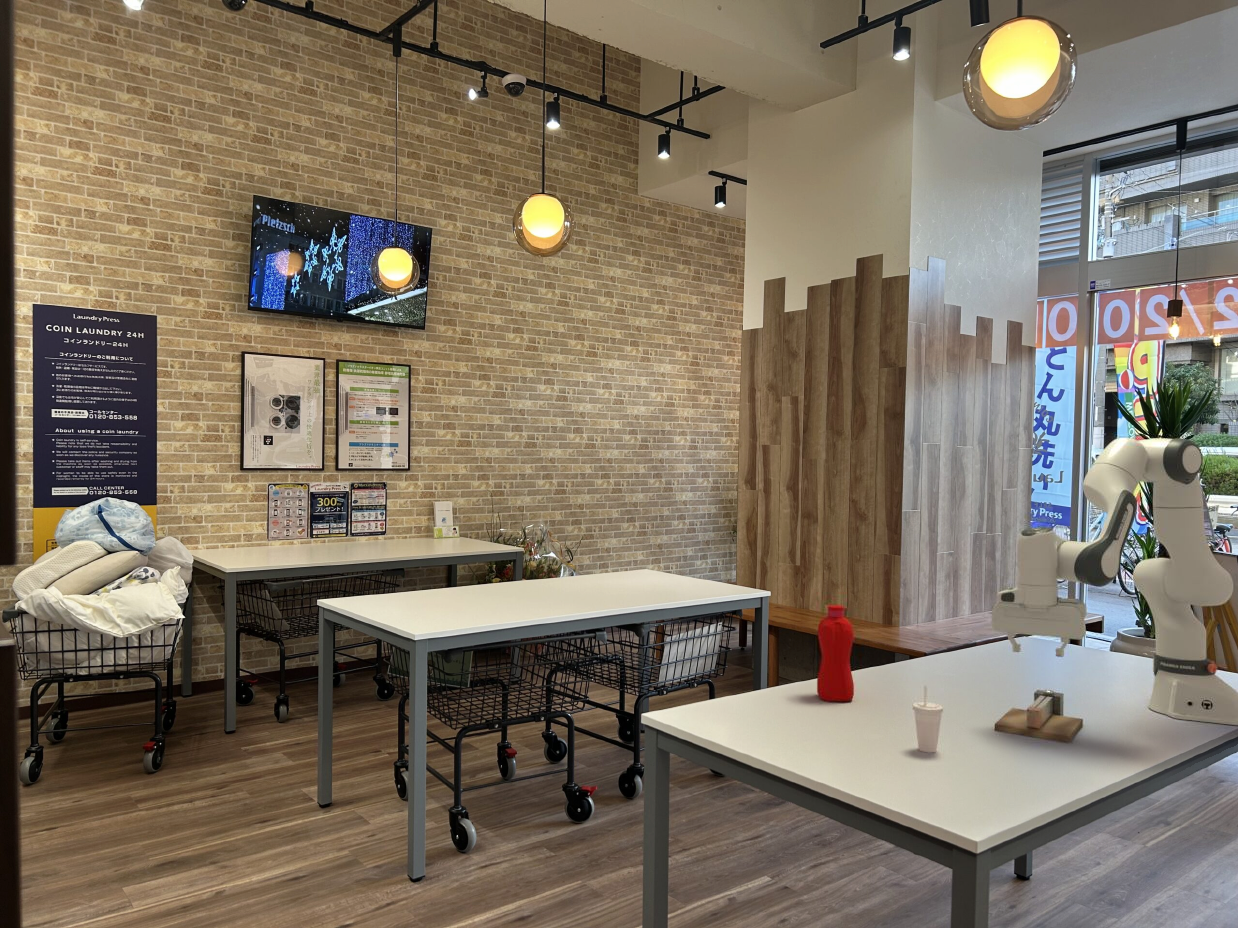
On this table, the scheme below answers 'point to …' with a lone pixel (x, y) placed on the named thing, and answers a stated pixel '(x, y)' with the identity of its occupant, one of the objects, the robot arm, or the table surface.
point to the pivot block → (1057, 700)
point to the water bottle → (835, 656)
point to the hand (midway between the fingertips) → (1037, 653)
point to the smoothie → (927, 723)
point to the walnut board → (1050, 729)
